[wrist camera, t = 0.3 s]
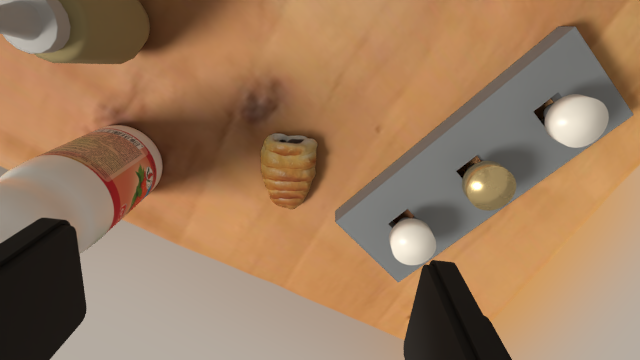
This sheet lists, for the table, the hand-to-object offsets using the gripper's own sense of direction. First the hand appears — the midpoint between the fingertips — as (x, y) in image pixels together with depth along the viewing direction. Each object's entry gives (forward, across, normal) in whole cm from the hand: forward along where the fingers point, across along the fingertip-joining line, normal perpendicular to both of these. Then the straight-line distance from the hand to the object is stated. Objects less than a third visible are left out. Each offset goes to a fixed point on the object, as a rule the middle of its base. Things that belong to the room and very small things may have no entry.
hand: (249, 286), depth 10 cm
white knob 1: (+33, -13, +14) cm, 38 cm away
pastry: (+36, +2, +9) cm, 37 cm away
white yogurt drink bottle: (+36, +22, +11) cm, 43 cm away
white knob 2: (+33, -26, -2) cm, 42 cm away
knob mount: (+36, -20, +6) cm, 41 cm away
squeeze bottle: (+36, +21, -5) cm, 42 cm away
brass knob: (+33, -20, +6) cm, 39 cm away
